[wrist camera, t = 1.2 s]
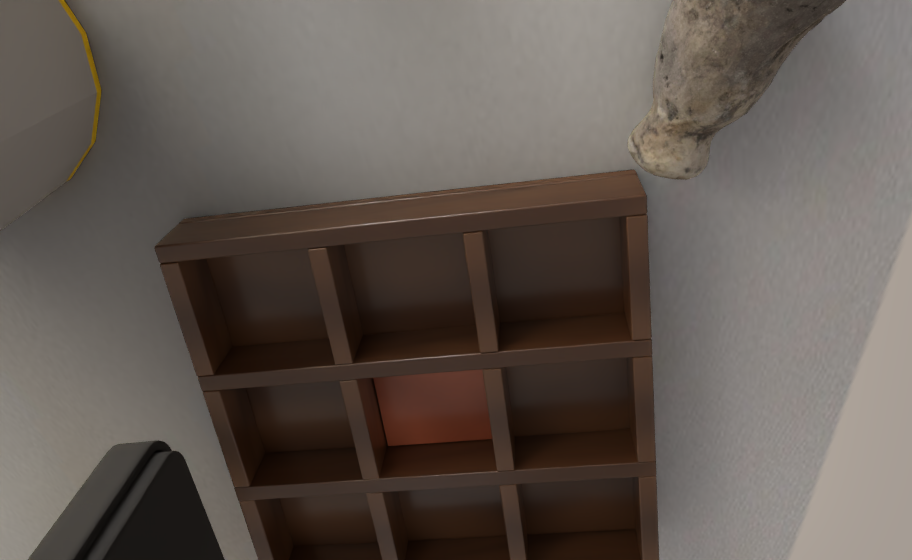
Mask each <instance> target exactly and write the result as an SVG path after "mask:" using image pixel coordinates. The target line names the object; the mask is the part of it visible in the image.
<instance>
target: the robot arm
mask: <svg viewBox="0 0 912 560" xmlns="http://www.w3.org/2000/svg"><path fill="white" fill-rule="evenodd" d="M28 560H225V559H224V557H223V554H222V552H221V549H220V547H219V544H218V542H217V539H216V537H215V534H214V532H213V529H212V527H211V524H210V522H209V519H208V517H207V514H206V511H205V509H204V506H203V504H202V501H201V499H200V496H199V494H198V491H197V489H196V486H195V484H194V481H193V479H192V476H191V474H190V471H189V469H188V466H187V464H186V461H185V459H184V457H183V455H182V454H181V453H179V452H177V451H172V450H171V449H170V447H169V446H168V445H167V444H166V443H165V442H163V441H148V442H137V443H126V444H118V445H115V446H113V447H112V448H111V449H110V450H109V451H108V452H107V453H106V455H105V456H104V457H103V459H102V460H101V461H100V463H99V464H98V465H97V467H96V468H95V469H94V471H93V472H92V473H91V475H90V476H89V478H88V479H87V480H86V482H85V483H84V484H83V486H82V487H81V488H80V490H79V491H78V492H77V494H76V495H75V496H74V498H73V499H72V501H71V502H70V503H69V505H68V506H67V507H66V509H65V510H64V511H63V513H62V514H61V515H60V517H59V518H58V519H57V521H56V522H55V524H54V525H53V526H52V528H51V529H50V530H49V532H48V533H47V534H46V536H45V537H44V538H43V540H42V541H41V542H40V544H39V545H38V547H37V548H36V549H35V551H34V552H33V553H32V555H31V556H30V557H29V559H28Z"/></svg>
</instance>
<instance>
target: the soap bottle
mask: <svg viewBox="0 0 912 560" xmlns="http://www.w3.org/2000/svg"><path fill="white" fill-rule="evenodd" d="M100 99H101V86H100V83H99V79H98V75H97V72H96V68H95V64H94V61H93V57H92V53H91V49H90V46H89V42H88V38H87V35H86V32H85V31H84V29H83V28H82V26H81V25H80V23H79V22H78V20H77V19H76V17H75V16H74V14H73V13H72V11H71V10H70V8H69V7H68V5H67V4H66V2H65V1H64V0H0V231H1V230H3V229H4V228H5V227H7V226H8V225H9V224H11V223H12V222H13V221H15V220H16V219H17V218H19V217H20V216H21V215H23V214H24V213H25V212H27V211H28V210H29V209H31V208H32V207H33V206H35V205H36V204H37V203H39V202H40V201H41V200H43V199H44V198H45V197H47V196H48V195H49V194H51V193H52V192H53V191H55V190H56V189H57V188H59V187H60V186H61V185H63V184H64V183H65V182H67V181H68V180H70V179H71V178H72V176H73V175H74V173H75V172H76V170H77V169H78V167H79V166H80V164H81V162H82V161H83V159H84V158H85V156H86V155H87V153H88V152H89V150H90V149H91V147H92V146H93V144H94V143H95V141H96V133H97V124H98V116H99V107H100Z"/></svg>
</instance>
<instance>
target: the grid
mask: <svg viewBox="0 0 912 560" xmlns="http://www.w3.org/2000/svg"><path fill="white" fill-rule="evenodd" d="M646 213H647V196H646V193H645V191H644V189H643V187H642V185H641V182H640V180H639V178H638V176H637V173H636V171H635V170H626V171H617V172H608V173H599V174H589V175H580V176H571V177H562V178H553V179H544V180H535V181H525V182H516V183H507V184H498V185H489V186H480V187H470V188H461V189H452V190H443V191H434V192H425V193H415V194H406V195H397V196H388V197H379V198H370V199H360V200H351V201H342V202H333V203H324V204H315V205H306V206H296V207H287V208H278V209H269V210H260V211H251V212H241V213H232V214H223V215H214V216H205V217H196V218H186V219H183V220H182V221H181V222H180V223H179V224H178V225H177V226H176V227H175V228H174V229H173V230H172V231H170V232H169V233H168V234H167V235H166V236H165V237H164V238H163V239H162V240H161V241H160V242H159V243H158V244H157V245H156V246H155V251H156V254H157V257H158V260H159V262H160V263H161V264H160V267H161V270H162V273H163V276H164V279H165V282H166V285H167V288H168V291H169V294H170V297H171V300H172V303H173V306H174V309H175V312H176V315H177V318H178V321H179V324H180V327H181V330H182V333H183V336H184V339H185V342H186V345H187V348H188V351H189V354H190V357H191V360H192V363H193V366H194V369H195V372H196V375H197V376H198V380H199V383H200V386H201V389H202V391H203V395H204V398H205V401H206V404H207V407H208V410H209V413H210V416H211V419H212V422H213V425H214V428H215V431H216V434H217V437H218V440H219V443H220V446H221V449H222V452H223V455H224V458H225V461H226V464H227V467H228V470H229V473H230V476H231V479H232V482H233V485H234V487H235V488H234V489H235V492H236V495H237V498H238V500H239V503H240V506H241V509H242V512H243V515H244V518H245V521H246V524H247V527H248V530H249V533H250V536H251V539H252V542H253V545H254V548H255V551H256V554H257V557H258V560H659V541H658V511H657V482H656V451H655V421H654V392H653V363H652V340H651V337H652V335H651V305H650V276H649V246H648V217H647V214H646Z"/></svg>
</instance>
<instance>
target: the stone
mask: <svg viewBox="0 0 912 560" xmlns="http://www.w3.org/2000/svg"><path fill="white" fill-rule="evenodd" d="M845 1H846V0H673V2H672V4H671V6H670V9H669V12H668V15H667V17H666V21H665V25H664V29H663V33H662V37H661V41H660V45H659V49H658V53H657V56H656V61H655V68H654V77H653V98H654V101H653V104H652V107H651V110H650V111H649V112H648V114H647V115H646V116H645V118H644V119H643V120H642V121H641V122H640V123H639V124H638V125H637V126H636V128H635V129H634V130H633V132H632V133H631V135H630V137H629V139H628V149H629V152H630V154H631V155H632V157H633V158H634V160H635V161H636V162H637V164H639V165H640V166H641V167H642V168H643V169H644V170H645V171H647V172H649V173H651V174H653V175H656V176H660V177H665V178H670V179H690V178H693V177H696V176H697V175H699V174H700V173H701V172H702V171H703V170H704V168H705V167H706V165H707V162H708V159H709V150H710V144H711V140H712V139H713V137H714V135H715V134H716V132H718V131H719V130H720V129H722V128H723V127H725V126H727V125H729V124H730V123H732V122H734V121H736V120H737V119H739V118H740V117H742V116H743V115H745V114H746V113H747V112H748V111H749V110H750V109H751V108H752V107H753V106H754V104H755V103H756V102H757V101H758V100H759V98H760V97H761V96H762V94H763V93H764V92H765V90H766V89H767V88H768V87H769V85H770V84H771V82H772V80H773V78H774V76H775V75H776V73H777V71H778V69H779V68H780V66H781V65H782V63H783V62H784V60H785V59H786V58H787V56H788V55H789V54H790V52H791V51H792V50H793V49H794V47H795V46H796V45H797V44H798V43H799V41H800V40H801V39H802V38H803V37H804V36H805V35H806V34H807V33H808V32H809V31H810V30H811V29H813V28H814V27H815V26H816V25H818V24H819V23H820V22H821V21H822V20H823V18H824V17H825V16H826V15H828V14H830V13H831V12H833V11H834V10H835V9H837V8H838V7H839V6H841V5H842V4H843V3H844V2H845Z"/></svg>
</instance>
